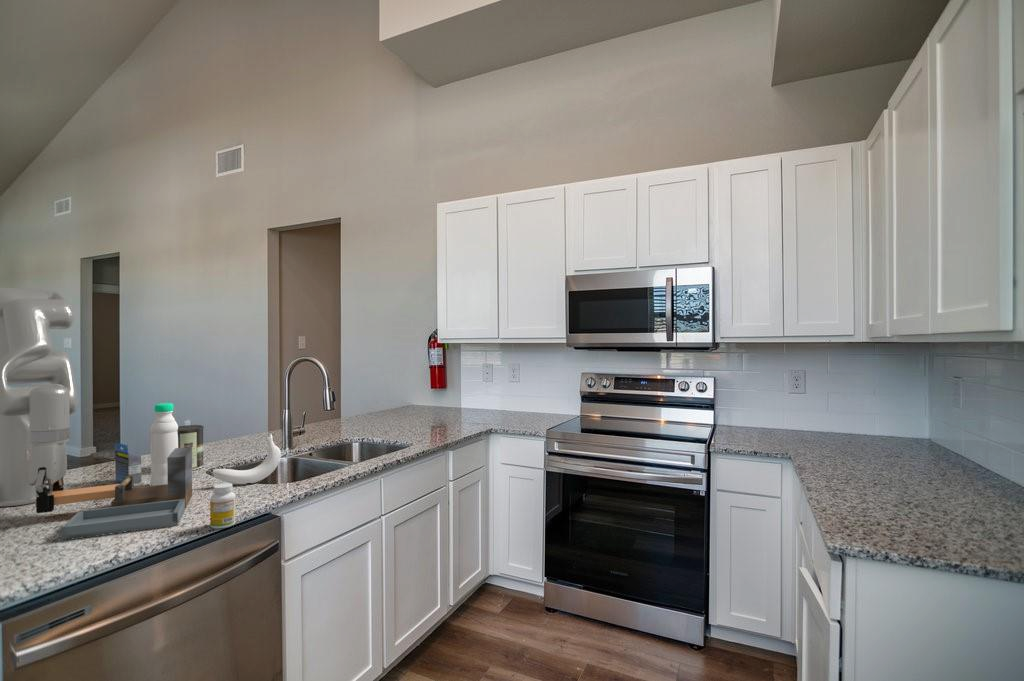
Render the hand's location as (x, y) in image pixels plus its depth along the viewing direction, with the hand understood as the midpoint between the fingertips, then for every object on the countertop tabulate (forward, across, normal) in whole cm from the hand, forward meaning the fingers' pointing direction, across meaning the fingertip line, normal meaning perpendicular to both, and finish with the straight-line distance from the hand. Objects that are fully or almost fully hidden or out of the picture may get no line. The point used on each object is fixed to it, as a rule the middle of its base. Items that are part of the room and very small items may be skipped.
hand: (50, 507), depth 129 cm
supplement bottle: (+3, +24, +40) cm, 46 cm away
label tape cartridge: (+3, -30, +10) cm, 32 cm away
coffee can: (+3, -41, +24) cm, 47 cm away
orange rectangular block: (-1, 0, +6) cm, 6 cm away
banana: (+3, -12, +44) cm, 46 cm away
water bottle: (+3, -21, +21) cm, 30 cm away
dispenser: (+3, 0, +22) cm, 22 cm away
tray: (+3, +13, +19) cm, 23 cm away
